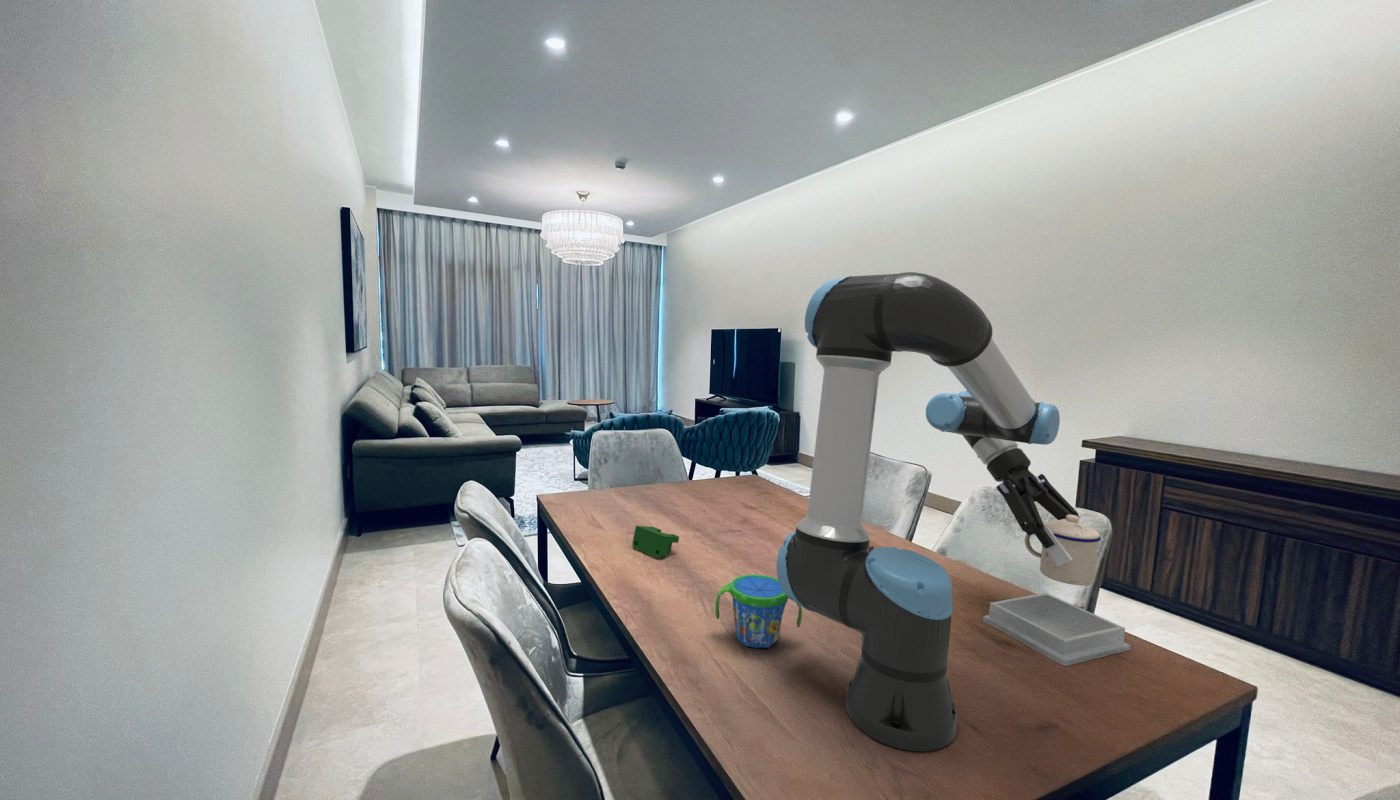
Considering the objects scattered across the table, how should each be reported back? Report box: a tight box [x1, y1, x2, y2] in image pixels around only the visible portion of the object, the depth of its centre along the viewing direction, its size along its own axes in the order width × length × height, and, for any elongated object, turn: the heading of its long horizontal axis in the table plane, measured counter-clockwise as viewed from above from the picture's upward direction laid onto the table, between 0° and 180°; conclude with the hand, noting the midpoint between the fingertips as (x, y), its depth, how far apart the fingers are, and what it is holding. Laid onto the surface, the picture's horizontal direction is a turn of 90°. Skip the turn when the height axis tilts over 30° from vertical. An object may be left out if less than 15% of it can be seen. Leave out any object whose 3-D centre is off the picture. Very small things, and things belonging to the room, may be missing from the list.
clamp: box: [632, 525, 680, 559], centre depth 146 cm, size 12×6×9 cm, turn 39°
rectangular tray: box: [982, 592, 1131, 667], centre depth 108 cm, size 17×17×4 cm
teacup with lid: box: [1024, 515, 1102, 586], centre depth 107 cm, size 12×9×12 cm
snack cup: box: [714, 574, 803, 649], centre depth 103 cm, size 16×10×10 cm
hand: (1079, 558), depth 104 cm, fingers closed on teacup with lid, 9 cm apart
